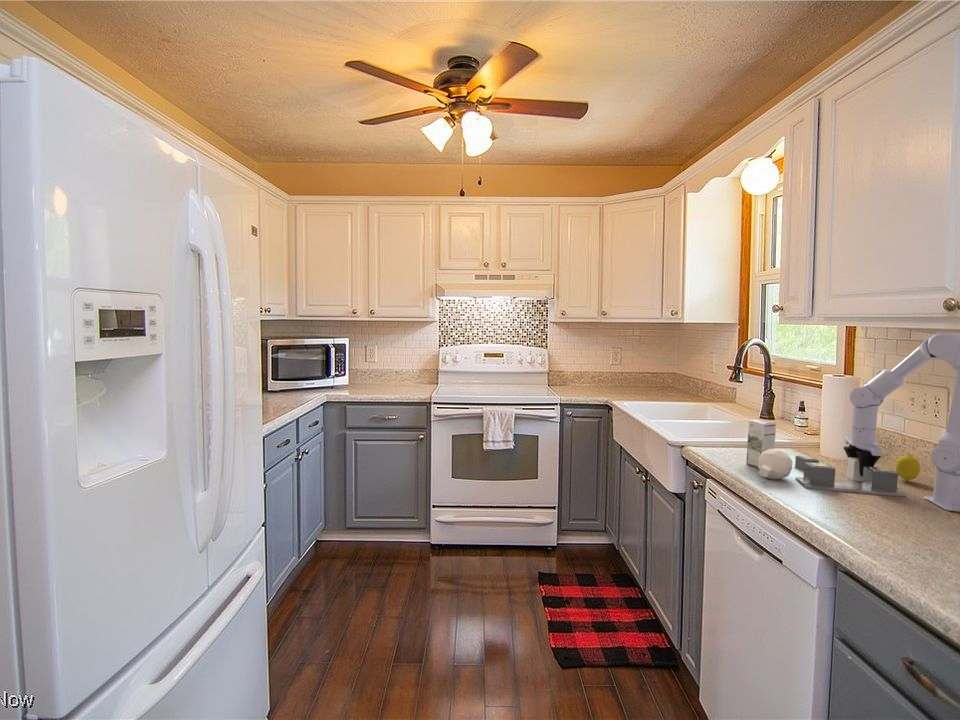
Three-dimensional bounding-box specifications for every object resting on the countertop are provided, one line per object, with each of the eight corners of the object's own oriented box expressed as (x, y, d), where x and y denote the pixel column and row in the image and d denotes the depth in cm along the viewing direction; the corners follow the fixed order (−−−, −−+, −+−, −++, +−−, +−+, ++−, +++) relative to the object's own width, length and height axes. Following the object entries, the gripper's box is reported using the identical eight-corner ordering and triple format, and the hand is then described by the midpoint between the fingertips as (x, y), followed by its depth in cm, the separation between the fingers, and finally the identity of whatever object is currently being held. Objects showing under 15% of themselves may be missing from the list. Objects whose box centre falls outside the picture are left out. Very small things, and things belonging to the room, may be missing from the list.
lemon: (892, 477, 157) (895, 451, 157) (916, 480, 154) (919, 453, 154) (896, 482, 152) (898, 455, 152) (920, 485, 150) (923, 458, 149)
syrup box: (774, 467, 165) (777, 421, 164) (760, 469, 163) (763, 423, 162) (758, 462, 170) (761, 418, 169) (745, 464, 168) (748, 419, 167)
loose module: (872, 482, 152) (874, 461, 151) (853, 480, 153) (854, 459, 152) (865, 478, 156) (867, 457, 155) (846, 476, 157) (848, 456, 156)
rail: (905, 496, 140) (907, 474, 139) (805, 488, 145) (807, 467, 144) (889, 487, 147) (891, 466, 147) (795, 479, 153) (796, 459, 152)
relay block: (817, 473, 160) (819, 459, 160) (805, 472, 160) (806, 459, 160) (807, 468, 165) (808, 455, 165) (794, 468, 165) (795, 455, 165)
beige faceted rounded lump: (762, 464, 161) (743, 476, 154) (772, 439, 157) (754, 450, 150) (791, 480, 155) (773, 492, 148) (802, 454, 151) (785, 465, 144)
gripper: (895, 434, 145) (890, 482, 147) (863, 423, 160) (859, 467, 161) (867, 433, 146) (863, 480, 147) (838, 422, 161) (835, 466, 162)
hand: (859, 473), depth 154 cm, fingers closed on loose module, 4 cm apart
